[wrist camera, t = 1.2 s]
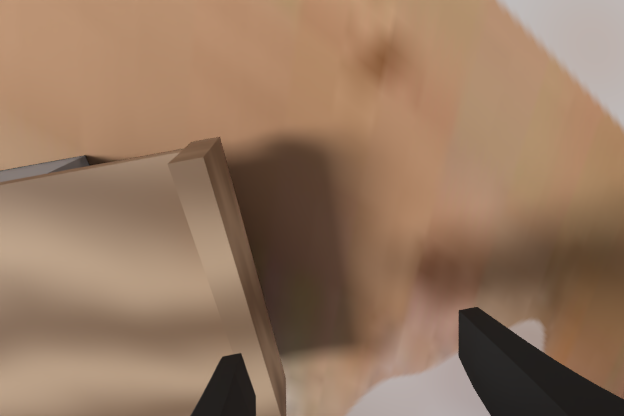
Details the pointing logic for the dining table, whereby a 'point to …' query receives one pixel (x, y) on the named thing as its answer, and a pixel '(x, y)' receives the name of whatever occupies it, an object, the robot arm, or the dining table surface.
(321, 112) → the dining table surface
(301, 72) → the dining table surface
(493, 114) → the dining table surface
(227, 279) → the box lid
